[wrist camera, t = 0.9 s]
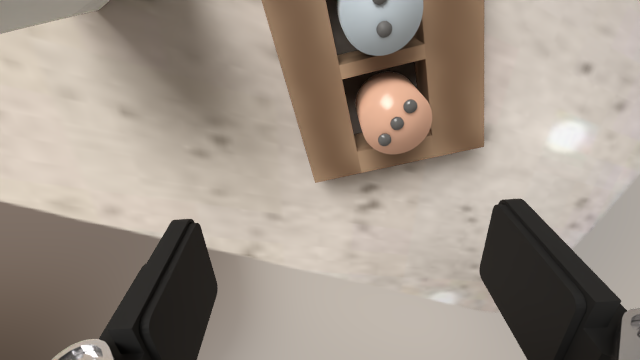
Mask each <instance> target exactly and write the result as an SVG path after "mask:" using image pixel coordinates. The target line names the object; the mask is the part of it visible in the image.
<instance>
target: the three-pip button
mask: <svg viewBox="0 0 640 360" xmlns="http://www.w3.org/2000/svg"><path fill="white" fill-rule="evenodd" d="M355 107H356V112H357V115H358V119H359V122H360V125H361V129H362V132H363V135H364V138H365V140H366V141H367V143H368V144H369V145H370V146H371V147H372V148H374V149H375V150H377V151H379V152H382V153H385V154H401V153H405V152H407V151H410V150H412V149H414V148H415V147H416V146H418V145H419V144H420V143H421V142H422V141H423V140H424V139H425V137H426V136H427V134H428V133H429V130H430V128H431V124H432V110H431V107H430V105H429V103H428V101H427V100H426V99H425V97H424V96H423V95H422V94H421V93H420V92H419V91H418V89H417V88H416V87H415V86H414V85H413V84H412V83H411V82H410V80H409V79H408V78H406V77H405V76H404V75H402V74H399V73H396V72H390V71H388V72H381V73H378V74H375V75H373V76H371V77H370V78H369V79H367V80H366V81H365V82H364V83H363V84H362V86H361V87H360V89H359V91H358V93H357V96H356V101H355Z"/></svg>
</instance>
